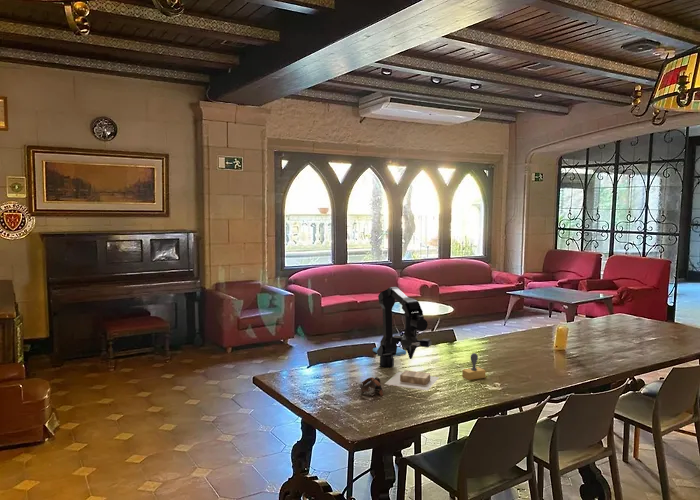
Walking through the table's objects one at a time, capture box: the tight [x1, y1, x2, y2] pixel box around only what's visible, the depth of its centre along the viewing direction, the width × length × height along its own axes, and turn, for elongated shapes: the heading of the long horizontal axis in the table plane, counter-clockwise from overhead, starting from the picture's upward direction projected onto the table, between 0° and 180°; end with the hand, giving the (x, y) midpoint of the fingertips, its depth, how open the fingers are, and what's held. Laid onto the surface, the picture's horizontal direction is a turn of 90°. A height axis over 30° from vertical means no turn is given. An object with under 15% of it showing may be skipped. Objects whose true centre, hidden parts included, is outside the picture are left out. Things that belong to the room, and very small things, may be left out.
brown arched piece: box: [359, 376, 384, 397], centre depth 236 cm, size 12×10×8 cm
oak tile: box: [400, 370, 431, 385], centre depth 251 cm, size 3×8×12 cm
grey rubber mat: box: [384, 371, 440, 391], centre depth 252 cm, size 21×20×1 cm
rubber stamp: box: [461, 352, 487, 381], centre depth 258 cm, size 10×6×12 cm, turn 112°
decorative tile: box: [372, 346, 407, 357], centre depth 302 cm, size 14×14×2 cm
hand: (410, 358), depth 251 cm, fingers closed
